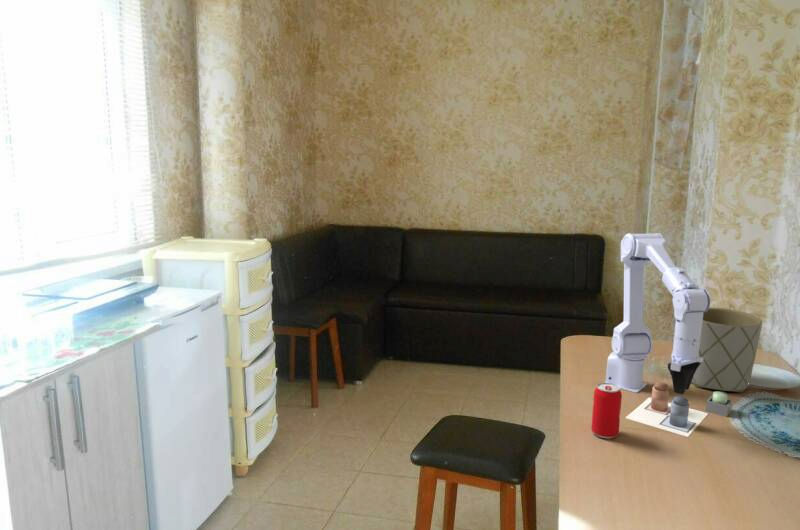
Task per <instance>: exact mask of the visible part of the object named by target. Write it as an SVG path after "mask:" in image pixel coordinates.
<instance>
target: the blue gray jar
mask: <svg viewBox="0 0 800 530" xmlns="http://www.w3.org/2000/svg"><path fill="white" fill-rule="evenodd" d="M670 403H671V411H670V420H669V423H670V424H671V425H673V426H675V427H680V428H683V427H686V426H687V421H688V412H689V408H690V403H689V400H688V399H687V398H686V397H682V396H674V397H673V400H671V402H670Z"/></svg>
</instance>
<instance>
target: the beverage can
mask: <svg viewBox="0 0 800 530" xmlns="http://www.w3.org/2000/svg"><path fill="white" fill-rule="evenodd" d="M622 397H623V394H622V391H621V389H620V387H619V386H617V385H615V384H612V383H605V382H600V383H597V384H596V387H595V389H594V390H593V399H592V400H593V404H592V416H591V428H590V429H591V432H592V433H593V434H594V435H595V436H597V437H598V438H602V439H613V438H615V437H618V435H619V431H620V424H621V423H620V421H621V409H622Z"/></svg>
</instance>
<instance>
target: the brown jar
mask: <svg viewBox="0 0 800 530" xmlns="http://www.w3.org/2000/svg"><path fill="white" fill-rule="evenodd" d="M669 396H670V388H669V386H668V384H667V383H664V382H655V383H654V385H653V386H652V390H651V398H652V401H651V408H652V409H653V410H655V411H660V412H664V411H667V410H668V403H669V398H670V397H669Z"/></svg>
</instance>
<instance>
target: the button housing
mask: <svg viewBox="0 0 800 530" xmlns="http://www.w3.org/2000/svg"><path fill="white" fill-rule="evenodd" d="M712 398H713V394H711V395H710V396H709V397H708V398H707V400H706V402H705V409H704V411H705V413H711V414H714V415H718V416H722V417H725V418H726V417H728V415H729V414H730V413H731V412H732V408H733V402H734V400H732V399H729V398H727V405H722V404H719V403H715V402H712Z"/></svg>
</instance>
